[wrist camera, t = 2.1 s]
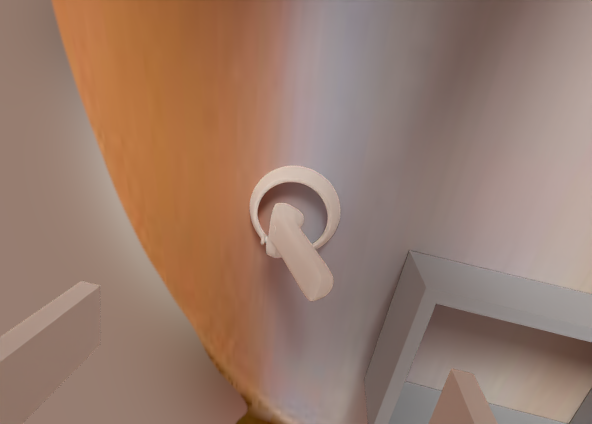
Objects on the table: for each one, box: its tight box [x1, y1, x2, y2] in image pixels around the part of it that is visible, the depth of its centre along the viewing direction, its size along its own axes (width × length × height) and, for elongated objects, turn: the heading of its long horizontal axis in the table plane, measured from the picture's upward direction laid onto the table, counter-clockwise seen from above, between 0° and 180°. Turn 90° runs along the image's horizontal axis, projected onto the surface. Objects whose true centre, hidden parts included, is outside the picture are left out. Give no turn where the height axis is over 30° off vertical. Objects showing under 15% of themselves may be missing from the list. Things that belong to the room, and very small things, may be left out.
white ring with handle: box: [250, 166, 341, 301], centre depth 26 cm, size 8×12×7 cm
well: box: [364, 250, 592, 424], centre depth 27 cm, size 14×20×6 cm
